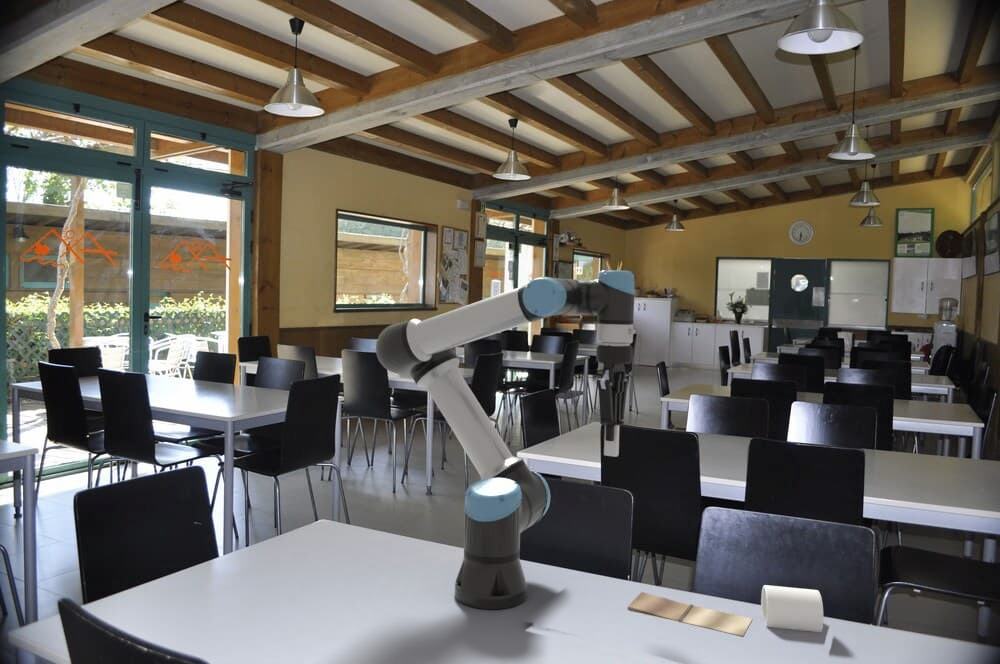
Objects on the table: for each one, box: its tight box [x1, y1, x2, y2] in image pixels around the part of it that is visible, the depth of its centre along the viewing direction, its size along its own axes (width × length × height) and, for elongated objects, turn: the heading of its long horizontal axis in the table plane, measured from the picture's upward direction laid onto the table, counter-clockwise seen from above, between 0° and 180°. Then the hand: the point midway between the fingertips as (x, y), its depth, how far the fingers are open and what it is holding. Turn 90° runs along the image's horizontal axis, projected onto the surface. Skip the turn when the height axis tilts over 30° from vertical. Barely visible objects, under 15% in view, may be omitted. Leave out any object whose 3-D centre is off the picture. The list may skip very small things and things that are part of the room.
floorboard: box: [677, 604, 753, 638], centre depth 144 cm, size 12×8×2 cm
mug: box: [760, 584, 824, 633], centre depth 145 cm, size 12×10×8 cm
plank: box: [627, 591, 690, 622], centre depth 149 cm, size 10×8×1 cm
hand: (611, 455), depth 158 cm, fingers closed
